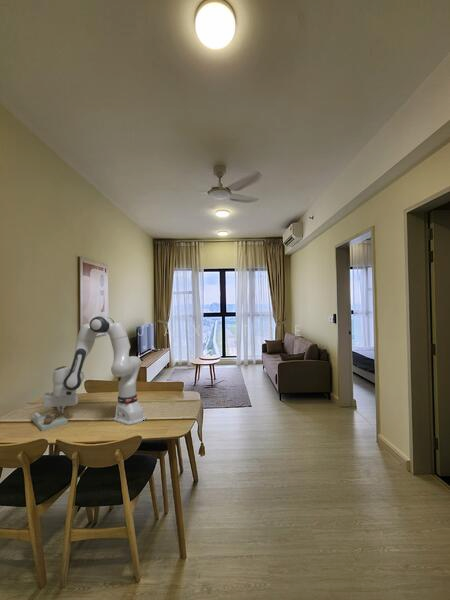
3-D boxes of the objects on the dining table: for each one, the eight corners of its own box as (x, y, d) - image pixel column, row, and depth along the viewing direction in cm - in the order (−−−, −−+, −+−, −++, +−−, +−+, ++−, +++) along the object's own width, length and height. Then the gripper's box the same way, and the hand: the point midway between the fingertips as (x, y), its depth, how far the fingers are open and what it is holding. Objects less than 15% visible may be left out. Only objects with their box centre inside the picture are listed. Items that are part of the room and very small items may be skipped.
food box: (67, 423, 181) (67, 414, 181) (42, 431, 170) (42, 421, 170) (55, 414, 197) (55, 405, 197) (31, 420, 187) (31, 411, 187)
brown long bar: (50, 424, 174) (50, 416, 174) (43, 424, 173) (43, 417, 173) (61, 412, 192) (61, 406, 192) (55, 413, 191) (55, 406, 191)
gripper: (41, 394, 183) (41, 416, 183) (75, 391, 187) (76, 413, 187) (45, 391, 189) (45, 412, 189) (78, 389, 193) (79, 409, 193)
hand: (61, 412), depth 188 cm, fingers closed
